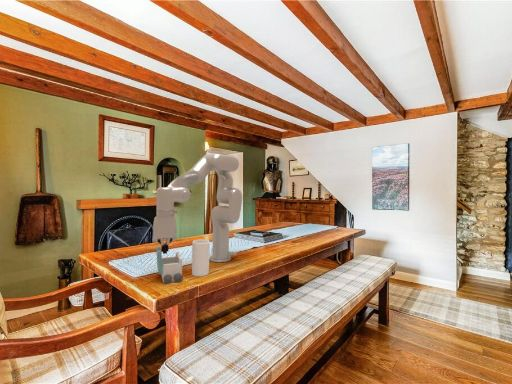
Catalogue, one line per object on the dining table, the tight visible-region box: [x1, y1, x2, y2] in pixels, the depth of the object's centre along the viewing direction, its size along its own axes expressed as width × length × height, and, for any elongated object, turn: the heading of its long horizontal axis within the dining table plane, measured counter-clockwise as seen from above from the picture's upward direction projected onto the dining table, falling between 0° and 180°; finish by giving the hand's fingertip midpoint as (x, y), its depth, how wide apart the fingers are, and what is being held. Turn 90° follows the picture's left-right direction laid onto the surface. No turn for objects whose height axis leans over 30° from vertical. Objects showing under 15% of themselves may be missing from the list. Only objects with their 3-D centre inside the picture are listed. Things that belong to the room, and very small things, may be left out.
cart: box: [160, 251, 183, 284], centre depth 120 cm, size 8×14×10 cm, turn 25°
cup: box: [191, 239, 210, 277], centre depth 126 cm, size 8×8×16 cm
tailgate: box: [155, 245, 163, 275], centre depth 118 cm, size 2×11×10 cm, turn 25°
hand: (164, 253), depth 119 cm, fingers closed
